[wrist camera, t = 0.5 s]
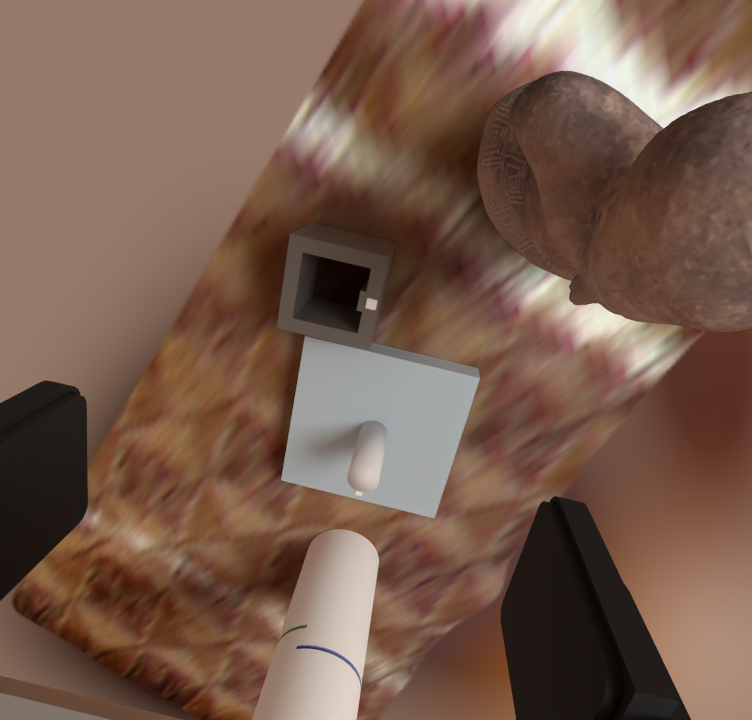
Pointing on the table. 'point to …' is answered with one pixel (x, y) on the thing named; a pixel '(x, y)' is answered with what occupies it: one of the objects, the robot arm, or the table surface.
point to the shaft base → (385, 398)
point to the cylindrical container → (324, 633)
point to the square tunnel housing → (326, 315)
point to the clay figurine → (626, 199)
